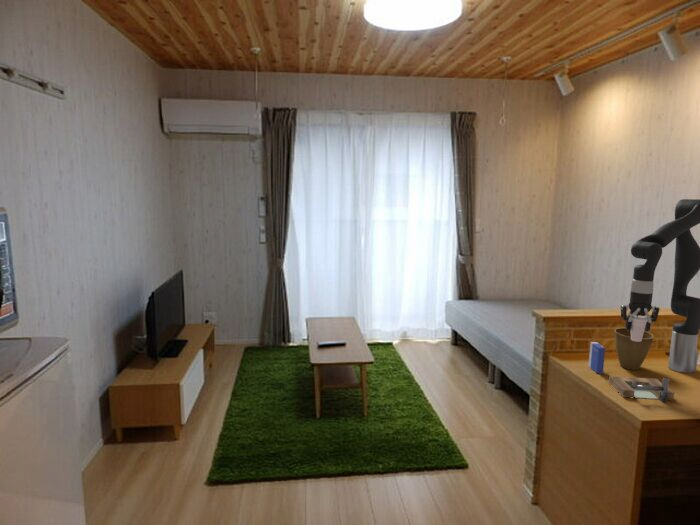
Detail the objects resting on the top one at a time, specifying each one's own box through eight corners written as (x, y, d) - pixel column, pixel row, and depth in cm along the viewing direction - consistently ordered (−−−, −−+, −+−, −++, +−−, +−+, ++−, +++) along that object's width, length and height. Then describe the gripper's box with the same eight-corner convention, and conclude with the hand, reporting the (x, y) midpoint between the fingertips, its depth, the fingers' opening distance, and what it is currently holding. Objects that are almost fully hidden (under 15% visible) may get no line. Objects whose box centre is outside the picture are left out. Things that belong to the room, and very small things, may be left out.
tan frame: (655, 385, 186) (656, 378, 185) (673, 400, 173) (674, 392, 173) (608, 383, 188) (609, 376, 188) (622, 397, 176) (623, 390, 175)
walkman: (602, 373, 198) (605, 347, 196) (596, 373, 198) (598, 347, 196) (594, 366, 206) (596, 341, 204) (588, 366, 206) (590, 341, 204)
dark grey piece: (664, 400, 173) (667, 377, 172) (667, 402, 171) (670, 380, 170) (629, 398, 175) (631, 376, 173) (631, 400, 173) (634, 378, 172)
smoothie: (628, 336, 192) (632, 304, 190) (646, 340, 188) (650, 307, 185) (625, 340, 187) (629, 307, 185) (644, 344, 183) (648, 310, 181)
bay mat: (647, 389, 182) (647, 388, 182) (658, 399, 174) (658, 398, 174) (624, 388, 184) (624, 387, 183) (634, 397, 175) (634, 397, 175)
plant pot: (615, 370, 201) (618, 336, 198) (608, 359, 215) (611, 326, 212) (654, 375, 196) (658, 339, 194) (644, 362, 210) (647, 329, 208)
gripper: (656, 289, 187) (651, 328, 189) (618, 288, 189) (614, 327, 191) (666, 293, 179) (661, 334, 182) (626, 292, 181) (622, 332, 184)
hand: (637, 330), depth 187 cm, fingers closed on smoothie, 6 cm apart
